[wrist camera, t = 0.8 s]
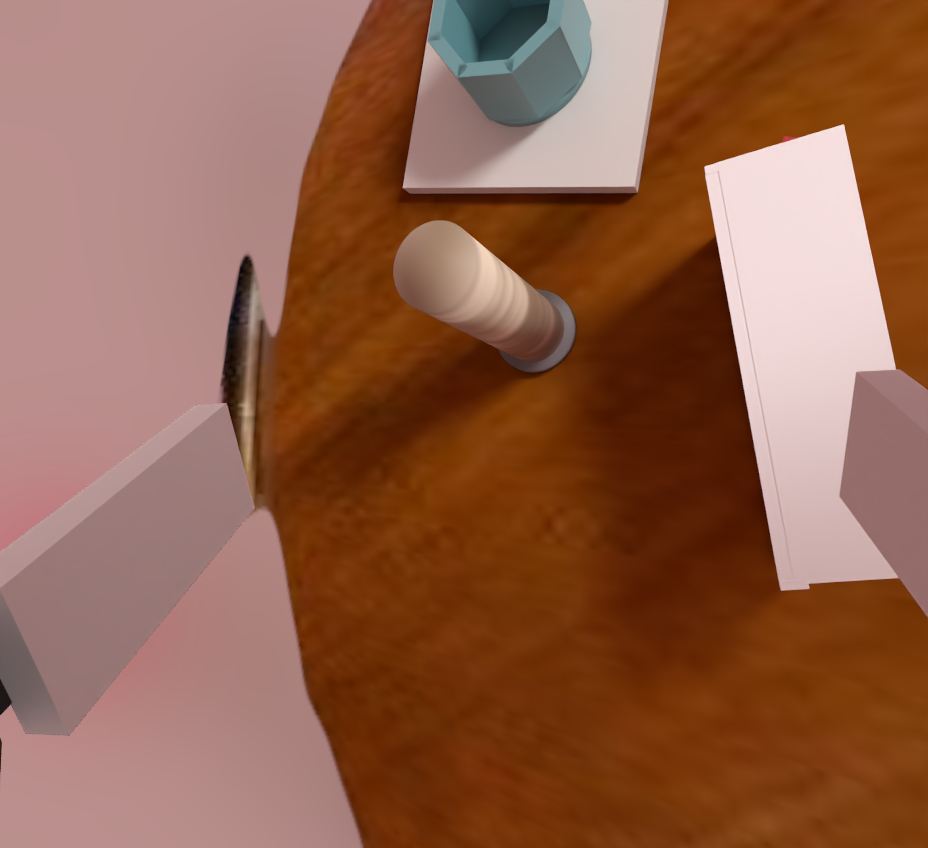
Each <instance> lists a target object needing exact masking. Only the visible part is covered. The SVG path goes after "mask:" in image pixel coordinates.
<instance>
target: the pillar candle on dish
mask: <svg viewBox="0 0 928 848" xmlns="http://www.w3.org/2000/svg"><path fill="white" fill-rule="evenodd" d="M393 275H394V282H395V286H396V288H397V291H398V292H399V294H400V296H401V297H402V298H403V300H404V301H405V302H406V303H408V304H409V305H410V306H412V307H414V308H416V309H418V310H420V311H422V312H424V313H426V314H428V315H430V316H432V317H434V318H436V319H439V320H441V321H443V322H445V323H447V324H449V325H451V326H453V327H455V328H457V329H459V330H461V331H463V332H465V333H467V334H469V335H471V336H473V337H475V338H477V339H479V340H481V341H483V342H485V343H487V344H489V345H491V346H494V347H496V348H498V351H499V353H500V354H501V356H502V357H503V359H504V360H505V361H506V362H507V363H508V364H510V365H511V366H513V367H515V368H517V369H519V370H521V371H524V372H529V373H539V372H544V371H547V370H550V369H552V368H554V367H555V366H557V365H558V364H560V363H561V362H562V361H563V360H564V359H565V358H566V357H567V355H568V354H569V352H570V351H571V349H572V347H573V344H574V342H575V337H576V321H575V317H574V314H573V312H572V310H571V309H570V307H569V306H568V305H567V303H566V302H565V301H564V300H562V299H561V298H560V297H559V296H557V295H556V294H554V293H552V292H549V291H545V290H535V289H534V288H533V287H531V286H530V285H529V284H528V283H527V282H526V281H524V280H523V279H522V278H521V277H520V276H518V275H517V274H516V273H515V272H514V271H512V270H511V269H510V268H509V267H508V266H506V265H505V264H504V263H503V262H502V261H500V260H499V259H498V258H497V257H496V256H494V255H493V254H492V253H491V252H490V251H488V250H487V249H486V248H485V247H484V246H482V245H481V244H480V243H479V242H478V241H476V240H475V239H474V238H473V237H472V236H470V235H469V234H468V233H467V232H466V231H464V230H463V229H462V228H461V227H459V226H458V225H456V224H454V223H452V222H448V221H441V220H440V221H432V222H428V223H425V224H423V225H421V226H419V227H417V228H416V229H415V230H413V231H412V232H411V233H410V234H409V235H408V236H407V237H406V238H405V240H404V241H403V242H402V244H401V246H400V247H399V250H398V252H397V254H396V257H395V262H394V269H393Z"/></svg>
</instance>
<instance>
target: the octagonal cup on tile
mask: <svg viewBox="0 0 928 848" xmlns="http://www.w3.org/2000/svg"><path fill="white" fill-rule="evenodd" d="M668 1H669V0H433V5H432V12H431V18H430V24H429V30H428V36H427V42H426V48H425V54H424V60H423V67H422V73H421V79H420V85H419V91H418V97H417V103H416V109H415V115H414V122H413V128H412V134H411V140H410V146H409V152H408V158H407V164H406V170H405V177H404V183H403V189H405V190H406V191H407V192H408V193H410V194H429V193H638V188H639V181H640V175H641V169H642V163H643V156H644V150H645V144H646V138H647V132H648V125H649V119H650V113H651V107H652V100H653V94H654V88H655V82H656V76H657V69H658V63H659V57H660V51H661V44H662V38H663V32H664V26H665V20H666V13H667V7H668Z"/></svg>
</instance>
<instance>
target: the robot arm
mask: <svg viewBox="0 0 928 848" xmlns="http://www.w3.org/2000/svg"><path fill="white" fill-rule="evenodd" d="M839 497H840V498H841V499H842V501H843V502H844V503H845V505H846V506H847V508H848V509H849V510H850V512H851V513H852V514H853V516H854V517H855V518H856V520H857V521H858V523H859V524H860V525H861V527H862V528H863V529H864V531H865V532H866V534H867V535H868V536H869V538H870V539H871V540H872V542H873V543H874V544H875V546H876V547H877V549H878V550H879V551H880V553H881V554H882V555H883V557H884V558H885V560H886V561H887V562H888V564H889V565H890V566H891V568H892V569H893V570H894V572H895V573H896V575H897V576H898V577H899V579H900V580H901V581H902V583H903V584H904V586H905V587H906V588H907V590H908V591H909V592H910V594H911V595H912V596H913V598H914V599H915V601H916V602H917V603H918V605H919V606H920V607H921V609H922V610H923V612H924V613H925V614H926V616H927V617H928V390H927V389H926V388H924V387H923V386H922V385H920V384H919V383H917V382H916V381H915V380H913V379H912V378H911V377H909V376H908V375H907V374H905V373H904V372H903V371H901V370H900V369H899V370H879V371H859V372H856V376H855V384H854V391H853V398H852V406H851V413H850V421H849V428H848V435H847V443H846V450H845V458H844V465H843V472H842V480H841V487H840V495H839ZM254 508H255V507H254V503H253V500H252V496H251V492H250V489H249V485H248V481H247V477H246V474H245V470H244V466H243V463H242V459H241V455H240V451H239V448H238V444H237V440H236V437H235V433H234V429H233V426H232V422H231V418H230V414H229V411H228V407H227V403H220V404H200V405H195V406H193V407H192V408H191V409H189V410H188V411H187V412H185V413H184V414H183V415H181V416H180V417H179V418H177V419H176V420H175V421H173V422H172V423H171V424H169V425H168V426H167V427H165V428H164V429H163V430H161V431H160V432H159V433H157V434H156V435H155V436H153V437H152V438H151V439H149V440H148V441H147V442H145V443H144V444H143V445H141V447H139V448H137V449H136V450H135V451H134V452H132V453H131V454H130V455H128V456H127V457H126V458H124V459H123V460H122V461H120V462H119V463H118V464H116V465H115V466H114V467H112V468H111V469H110V470H108V471H107V472H106V473H104V474H103V475H102V476H100V477H99V478H98V479H96V480H95V481H94V482H92V483H91V484H90V485H88V486H87V487H86V488H84V489H83V490H82V491H81V492H79V493H78V494H76V495H75V496H74V497H72V498H71V499H70V500H69V501H67V502H66V503H65V504H63V505H62V506H61V507H59V508H58V509H57V510H55V511H54V512H53V513H51V514H50V515H49V516H47V517H46V518H45V519H43V520H42V521H41V522H39V523H38V524H37V525H35V526H34V527H33V528H31V529H30V530H29V531H27V532H26V533H25V534H23V535H22V536H21V537H19V538H18V539H17V540H15V541H14V542H13V543H11V544H10V545H9V546H7V548H5V549H3V550H2V551H1V552H0V715H1V714H2V713H3V712H4V711H5V710H6V709H7V708H8V707H9V706H10V705H11V706H12V708H13V710H14V712H15V714H16V716H17V718H18V720H19V722H20V723H21V725H22V727H23V729H24V731H25V733H26V734H47V735H68V736H69V735H70V734H71V733H72V732H73V730H74V729H75V728H76V727H77V726H78V724H79V723H80V722H81V721H82V719H83V718H84V717H85V716H86V714H87V713H88V712H89V711H90V710H91V708H92V707H93V706H94V704H95V703H96V702H97V701H98V700H99V699H100V697H101V696H102V695H103V694H104V692H105V691H106V690H107V689H108V687H109V686H110V685H111V684H112V682H113V681H114V680H115V679H116V678H117V676H118V675H119V674H120V673H121V672H122V670H123V669H124V668H125V667H126V665H127V664H128V663H129V662H130V660H131V659H132V658H133V657H134V655H135V654H136V653H137V652H138V651H139V649H140V648H141V647H142V646H143V645H144V643H145V642H146V641H147V640H148V638H149V637H150V636H151V635H152V633H153V632H154V631H155V630H156V629H157V627H158V626H159V625H160V623H161V622H162V621H163V620H164V619H165V618H166V616H167V615H168V614H169V613H170V611H171V610H172V609H173V608H174V607H175V605H176V604H177V603H178V602H179V600H180V599H181V598H182V597H183V595H184V594H185V593H186V591H188V589H189V588H190V587H191V586H192V584H193V583H194V582H195V581H196V580H197V578H198V577H199V576H200V575H201V573H202V572H203V571H204V570H205V568H206V567H207V566H208V565H209V564H210V562H211V561H212V560H213V559H214V557H215V556H216V555H217V554H218V553H219V551H220V550H221V549H222V548H223V546H224V545H225V544H226V543H227V541H228V540H229V539H230V538H231V537H232V535H233V534H234V533H235V532H236V530H237V529H238V528H239V527H240V526H241V524H242V523H243V522H244V521H245V519H246V518H247V517H248V516H249V515H250V513H251V512H252V511H253V510H254ZM1 747H2V742H1V739H0V770H1Z"/></svg>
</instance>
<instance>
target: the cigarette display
mask: <svg viewBox="0 0 928 848" xmlns="http://www.w3.org/2000/svg"><path fill="white" fill-rule="evenodd" d="M704 168H705V173H706V174H705V176H706V182H707V187H708V193H709V199H710V204H711V210H712V215H713V221H714V227H715V232H716V238H717V243H718V249H719V254H720V260H721V265H722V271H723V276H724V282H725V288H726V293H727V299H728V304H729V310H730V315H731V321H732V326H733V332H734V337H735V343H736V348H737V354H738V359H739V365H740V370H741V376H742V381H743V387H744V393H745V398H746V404H747V409H748V415H749V420H750V426H751V431H752V437H753V442H754V448H755V453H756V459H757V464H758V470H759V475H760V481H761V487H762V492H763V498H764V503H765V509H766V514H767V520H768V525H769V531H770V536H771V542H772V547H773V553H774V558H775V564H776V569H777V575H778V580H779V585H780V588H781V591H783V590H799V589H810V588H809V584H811V583H827V582H843V581H858V580H874V579H890V578H899V577H898V576H897V575H896V573H895V572H894V570H893V569H892V568H891V566H890V565H889V564H888V562H887V561H886V560H885V558H884V557H883V555H882V554H881V553H880V551H879V550H878V549H877V547H876V546H875V544H874V543H873V542H872V540H871V539H870V538H869V536H868V535H867V534H866V532H865V531H864V529H863V528H862V527H861V525H860V524H859V523H858V521H857V520H856V518H855V517H854V516H853V514H852V513H851V512H850V510H849V509H848V508H847V506H846V505H845V503H844V502H843V501H842V499H841V498H840V497H839V495H840V487H841V480H842V472H843V465H844V458H845V450H846V443H847V435H848V428H849V421H850V413H851V406H852V398H853V391H854V384H855V376H856V372H859V371H879V370H896V367H895V362H894V358H893V353H892V348H891V344H890V339H889V334H888V329H887V325H886V320H885V315H884V311H883V306H882V301H881V297H880V292H879V287H878V283H877V278H876V273H875V269H874V264H873V259H872V254H871V250H870V245H869V240H868V236H867V231H866V226H865V222H864V217H863V212H862V208H861V203H860V198H859V193H858V189H857V184H856V179H855V175H854V170H853V165H852V161H851V156H850V151H849V147H848V142H847V137H846V133H845V128H844V124H843V125H840V126H837V127H833V128H830V129H827V130H823V131H820V132H817V133H814V134H810V135H807V136H804V137H800V138H794V137H787V136H784V139H783V142H782V143H780V144H777V145H774V146H770V147H767V148H764V149H760V150H757V151H754V152H751V153H747V154H744V155H741V156H737V157H734V158H731V159H727V160H724V161H721V162H717V163H715V164H712V165H708V166H705V167H704Z"/></svg>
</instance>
